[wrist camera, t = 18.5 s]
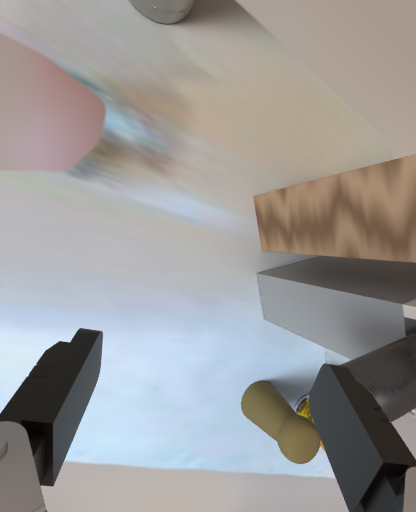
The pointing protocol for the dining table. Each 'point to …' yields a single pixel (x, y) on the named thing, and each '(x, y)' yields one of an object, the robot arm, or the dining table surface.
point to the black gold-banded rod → (389, 375)
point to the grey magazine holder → (342, 301)
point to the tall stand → (345, 214)
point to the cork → (281, 422)
